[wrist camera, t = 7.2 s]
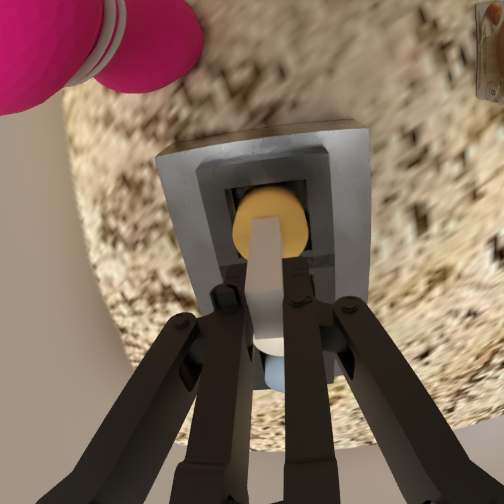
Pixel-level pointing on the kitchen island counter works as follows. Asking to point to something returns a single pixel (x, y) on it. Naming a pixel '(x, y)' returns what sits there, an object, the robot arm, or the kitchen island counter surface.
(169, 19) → the pepper mill
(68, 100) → the kitchen island counter surface
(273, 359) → the blue button
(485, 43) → the coffee box
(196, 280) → the button console
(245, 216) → the amber button
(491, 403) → the kitchen island counter surface
